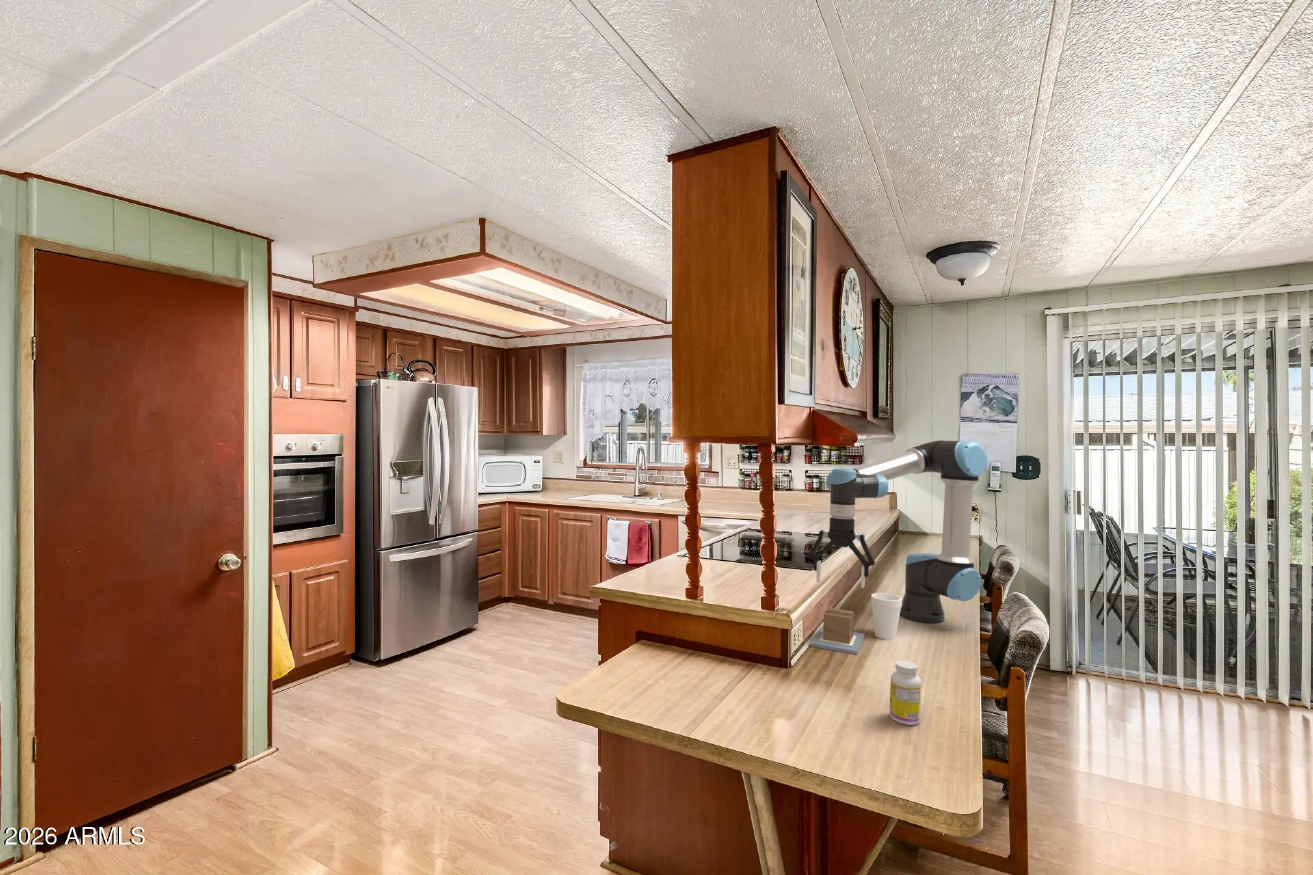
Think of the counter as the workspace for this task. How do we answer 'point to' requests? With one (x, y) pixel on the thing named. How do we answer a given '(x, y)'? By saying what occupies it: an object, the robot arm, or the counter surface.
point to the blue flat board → (838, 643)
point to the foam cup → (886, 614)
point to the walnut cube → (838, 625)
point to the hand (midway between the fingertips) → (840, 584)
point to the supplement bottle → (905, 694)
